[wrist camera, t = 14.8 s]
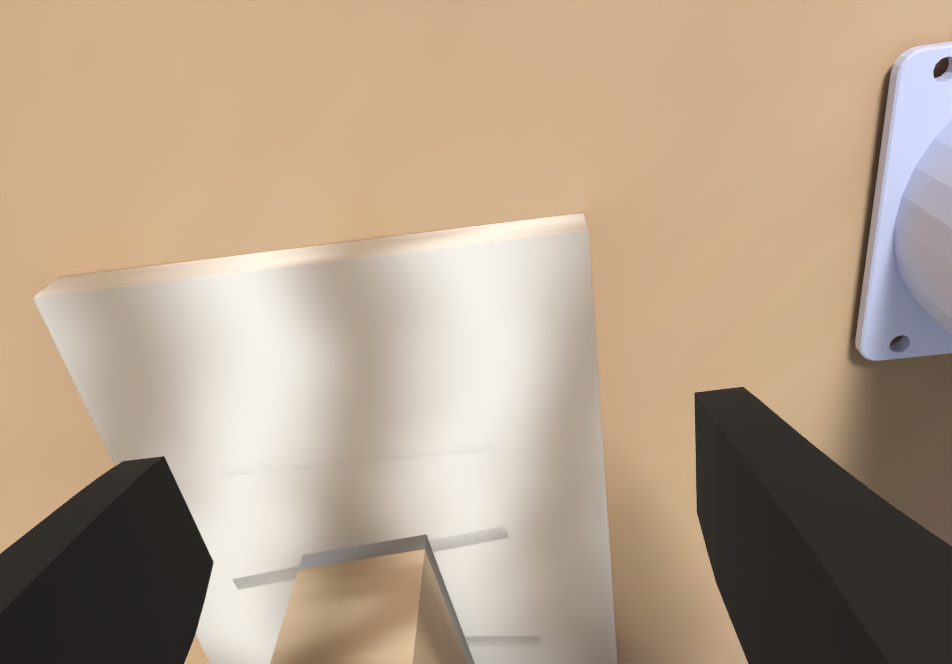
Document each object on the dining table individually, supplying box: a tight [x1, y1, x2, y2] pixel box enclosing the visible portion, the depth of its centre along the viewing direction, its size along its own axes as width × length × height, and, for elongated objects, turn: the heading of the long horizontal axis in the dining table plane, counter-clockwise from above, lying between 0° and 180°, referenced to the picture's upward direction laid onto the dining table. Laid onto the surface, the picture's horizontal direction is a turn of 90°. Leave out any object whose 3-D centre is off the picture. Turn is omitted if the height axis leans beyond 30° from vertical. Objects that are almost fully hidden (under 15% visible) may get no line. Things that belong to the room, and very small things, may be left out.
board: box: [33, 213, 618, 664], centre depth 23 cm, size 14×18×1 cm
